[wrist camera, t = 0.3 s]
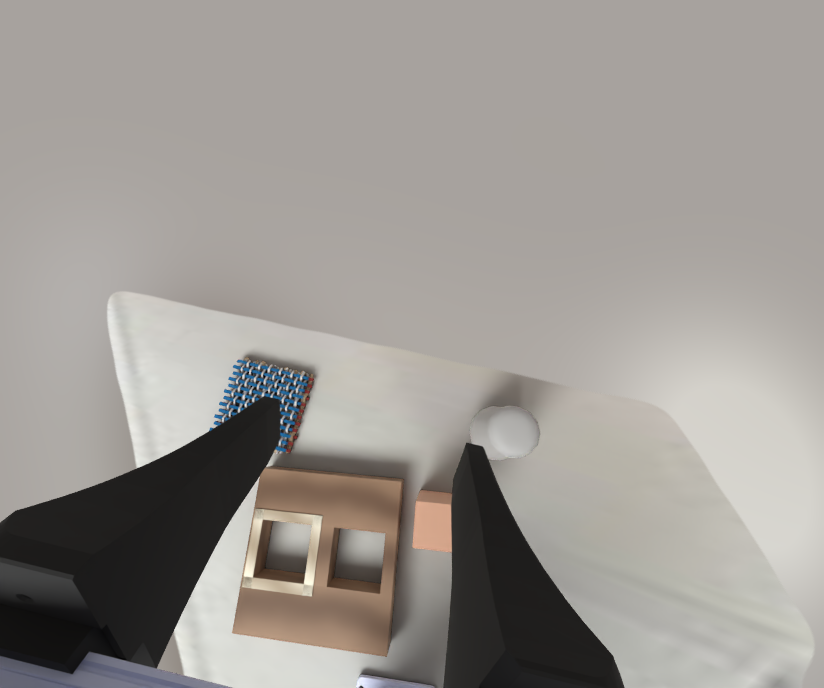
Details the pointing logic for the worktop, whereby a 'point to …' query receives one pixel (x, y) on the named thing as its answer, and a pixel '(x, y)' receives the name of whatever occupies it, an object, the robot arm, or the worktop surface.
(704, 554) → the worktop surface
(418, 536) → the pin
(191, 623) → the worktop surface
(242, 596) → the wooden peg board
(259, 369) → the woven mat
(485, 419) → the salt shaker
